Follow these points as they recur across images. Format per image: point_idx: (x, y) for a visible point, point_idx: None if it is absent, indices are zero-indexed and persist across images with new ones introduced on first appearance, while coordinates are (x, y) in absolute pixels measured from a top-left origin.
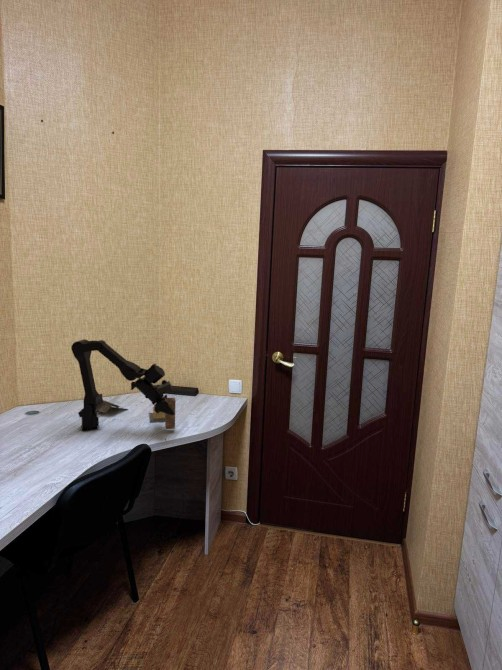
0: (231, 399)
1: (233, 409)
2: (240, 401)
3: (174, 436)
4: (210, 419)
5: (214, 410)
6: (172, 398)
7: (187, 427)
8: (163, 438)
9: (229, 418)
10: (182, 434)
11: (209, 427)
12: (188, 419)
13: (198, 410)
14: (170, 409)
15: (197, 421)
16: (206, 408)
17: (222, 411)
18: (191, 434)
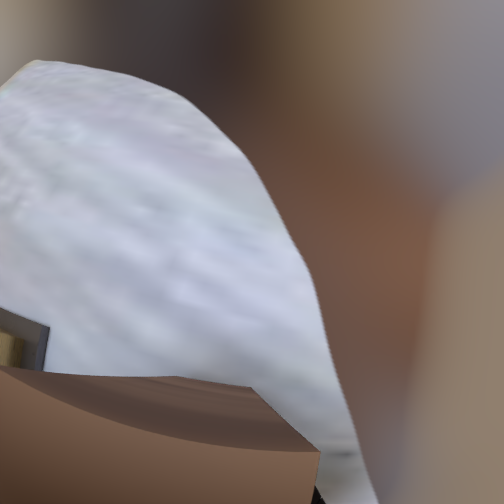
0: (15, 82)
1: (77, 72)
2: (42, 64)
3: (315, 398)
4: (112, 137)
5: (41, 118)
6: (53, 480)
7: (170, 275)
8: (329, 466)
9: (145, 82)
10: (292, 339)
11: (217, 160)
12: (55, 235)
13: (3, 171)
14: (313, 493)
15: (103, 196)
16: (9, 142)
17: (67, 97)
18: (305, 281)
